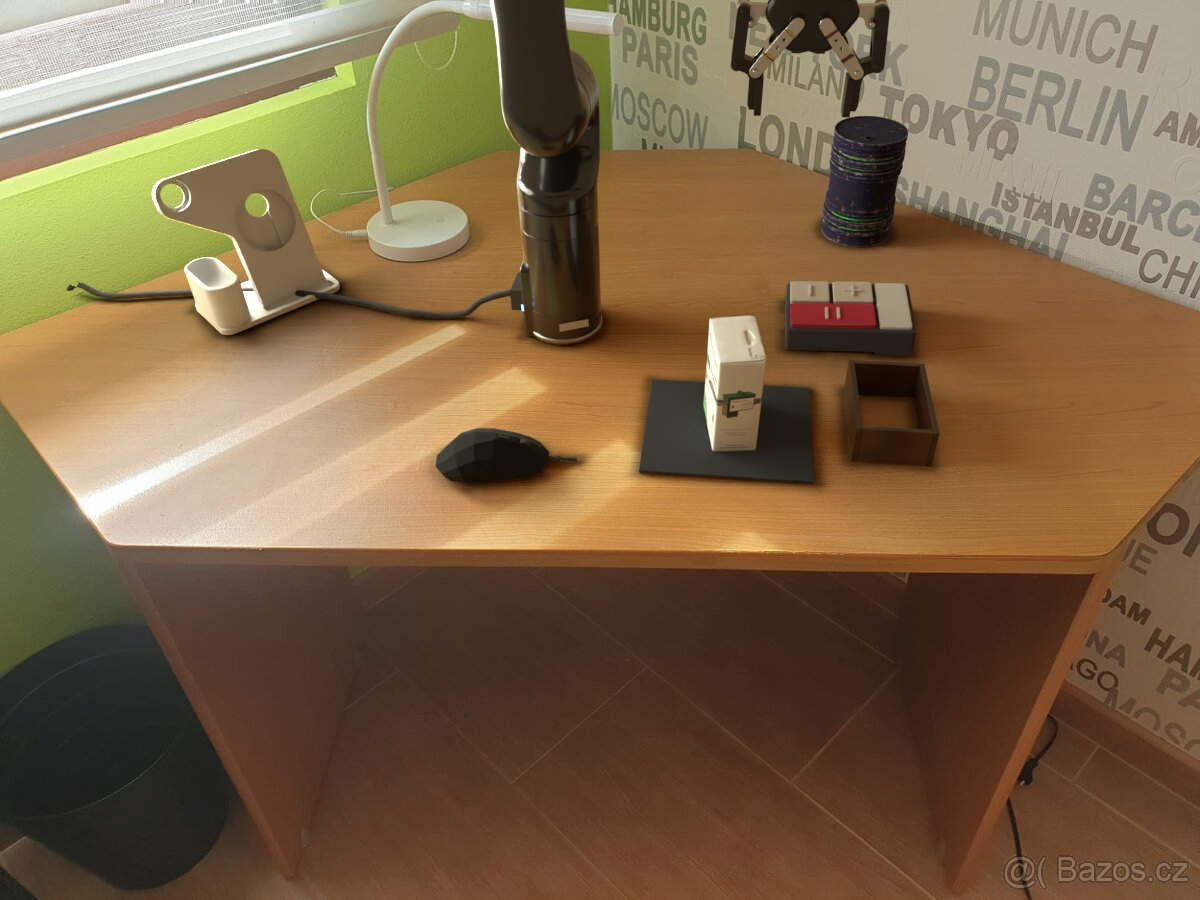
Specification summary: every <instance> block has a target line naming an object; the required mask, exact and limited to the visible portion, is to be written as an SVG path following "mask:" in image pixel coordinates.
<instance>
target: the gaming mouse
mask: <svg viewBox="0 0 1200 900" xmlns="http://www.w3.org/2000/svg"><path fill="white" fill-rule="evenodd" d="M549 462H554V463H561V462H578V456H577V457H572V456H561V455H550V451H549V450H548V449H547V448H546V446H544V444H543V443H542V442H541V441H540V440H537V439H535V438H534V437H532V436H529V435H526V434H522V433H519V432H515V431H511V430H505V429H500V428H493V427H476V428H473V429H470V430H469V429H468V430H467V431H463V432H460V433H459V434H458V435H457V436H456V437H454V438H453V440H451V441H450V442H449V443H448V444H447V445H446V446H444V448H442V450H441V451H439V453H437V454H436V459H435V468H436V469H437V470H438V471H439V472H440V474H441V475H442V476H443V478H445V479H446V480H449V481H450V482H454V483H461V484H466V485H472V484H485V483H496V482H510V481H517V480H519V481H520V480H527V479H530V478H533V477H535V476H537V475H540V474H542V473H543V471H544V470H545V469H546V467H547V465H548V464H549Z"/></svg>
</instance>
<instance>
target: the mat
mask: <svg viewBox="0 0 1200 900" xmlns="http://www.w3.org/2000/svg"><path fill="white" fill-rule="evenodd" d="M650 386H651V387H650V392H649V397H648V404H647V412H646V420H645V427H644V432H643V440H642V446H641V454H640V461H639V467H638V473H639V474H649V475H662V476H663V475H666V476H681V477H692V478H693V477H695V478H708V479H709V478H710V479H725V480H741V481H754V482H755V481H757V482H769V483H771V482H773V483H788V484H801V485H815V483H816V480H815V479H816V478H815V465H814V449H813V432H812V431H813V430H812V415H811V398H810V388H809V387H801V386H785V385H767V384H763V392H762V400H761V410H760V418H759V427H758V436H757V444H756V449H755V450H748V451H712V446H711V442H710V437H709V432H708V426H707V421H706V416H705V411H704V405H703V402H704V391H705V381H694V380H693V381H690V380H674V379H673V380H672V379H658V378H657V379H654V378H653V379H652V380H651V385H650Z"/></svg>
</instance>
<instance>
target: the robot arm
mask: <svg viewBox="0 0 1200 900" xmlns="http://www.w3.org/2000/svg"><path fill="white" fill-rule="evenodd" d="M488 2H489V6H490V12H491V15H492V22H493V28H494V35H495V44H496V55H497V65H498V77H499V79H498V80H499V91H500V92H499V93H500V103H501V104H500V105H501V113H502V117H503V121H504V124H505V127H506V128H507V131H508V133H509V135H510V136H511V138H512V139H513V140H514V142H515V143H516V144H517V145H518V146H519V161H518V170H517V174H516V196H517V205H518V216H519V226H520V227H519V228H520V238H521V249H522V251H521V252H522V261H521V264H520V267H519V272H517V273H516V275H515V278H514V280H513V282H512V284H511V286H510V288H509V289H505V290H502V291H497V292H494V293H490V294H487V295H484V296H482V297H480V298H478V299H477V300H475V301H474V302H473V303H472V304H471V305H470V306H469V307H468V308H466V309H463V310H460V311H455V312H433V311H432V312H431V311H425V310H417V309H410V308H403V307H402V308H401V307H396V306H392V305H387V304H383V303H379V302H376V301H371V300H368V299H367V300H366V299H362V298H361V299H360V298H355V297H350V296H345V295H340V294H334V293H332V294H327V293H319V292H311V291H302V290H297V291H296V292H295V295H297V296H302V297H305V296H308V295H313V296H315V298H319V299H318V300H327V301H334V302H340V303H345V304H350V305H356V306H362V307H367V308H371V309H375V310H378V311H383V312H387V313H391V314H396V315H400V316H401V315H402V316H408V317H416V318H425V319H432V320H433V319H434V320H456V319H460V318H465V317H467V316H469V315H471V314H473V313H474V312H475V311H476V310H477V309H478V308H479V307H481V306H482V305H484V304H486V303H489V302H492V301H494V300H499V299H502V298H507V297H510V307H511V311H519V312H523V321H524V332H525V336H527V337H533V338H536V339H537V340H539V341H542V342H544V343H547V344H553V345H573V344H578V343H582V342H585V341H587V340H590V339H592V338H593V337H595V336H596V335H597V334H599V332H600V331H601V329H602V327H603V315H602V313H603V312H602V310H603V309H602V290H601V289H602V288H601V258H600V255H601V254H600V228H599V227H600V225H599V198H598V197H599V195H598V194H599V193H598V183H599V182H598V181H599V173H600V164H601V127H600V126H601V122H600V121H601V119H600V118H601V117H600V116H601V115H600V114H601V112H600V91H599V86H598V80H597V77H596V75H595V73H594V70H593V68H592V66H590V64H589V62H588V61H587V60H586V59H585V58H584V57H583V56H582V55H581V54H579V53H578V52H577V51H575V50H573V49H571V45H570V39H569V33H568V24H567V15H566V0H488ZM735 13H736V15H735V22H734V23H735V24H734V32H733V39H732V48H731V56H730V57H731V58H730V68H731V70H732V71H734V72H742V73H744V74H746V76H747V77H748V88H747V99H746V105H747V108H748V110H749V111H750V110H751V111H753V116H754V117H761V116H762V105H763V103H762V102H763V95H764V94H763V93H764V81H765V71H766V70H767V69H768V68H769V66H770V65H771V64H772V63H774V62H775V61H776V60H777V59H778V58H779V57H780V55H781V54H782V53H783V52H784V51H785V50H787V51H789V52H790V53H791V54H803V53H807V52H810V53H813V54H816V55H825V54H826V53H827V52H828V51H831V50H833V51H834V53H835V55H836V56H837V57H838V59H839V61H840V62H841V64H842V65H843V67H844V68H845V70H846V71H847V72H845V77H844V83H843V91H842V98H841V106H840V115H841V118H850V117H851V112H855V113H856V112H857V109H858V107H859V103H860V96H861V89H862V83H863V79H864V78H866V76H868V75H870V74H880V73H882V72H883V71H884V70H885V65H886V55H887V45H888V34H889V27H890V26H889V25H890V16H891V10H890V7H889V4H888V1H887V0H875V1H874V2H864V3H863V2H862V3H859V2H858V0H768V1H767V2H759V1H751V0H738V1H737V6H736V12H735ZM762 17H765V19H766V21H767V22H768V25H770V28H771V29H772V31H771V33H770V34H769V35H768V36H767V38H765V40H764V42H763V44H762V45H761V46H760V48H759V49H758V50H757V52H756V53H754V55H753V56H752V55H749V54H747V53H746V49H747V42H748V41H747V40H748V33H749V29H754V28H756V26H757V25H758V22H759V20H760V19H761V18H762ZM859 18H861V19H863V21H864V25H865V27H866V29H868V30H871V31H870V41H869V42H870V44H869V53H868V55H866V56H864V57H859V56H858V54H857V52H856V50H855V48H854V47H853V44H852V43H851V41H850V39H849V38H848V36H847V33H848V31H849V30H850V29H851V28H852V27H853V25H855V23H856V22H857V21H858V20H859ZM78 282H79V283H78V285H77V287H75V286H72V285H70V284H68V285H67V287H66V291H67V292H72V291H74V290H75V289H76V288H79V289H81V290H83V291H85V292H87V293H89V294H91V295H93V296H95V297H98V298H102V299H108V300H134V299H147V298H161V297H162V298H163V297H164V298H165V297H183V296H184V297H185V296H193V293H192V291H191V288H190V289H189V288H188V289H171V290H149V291H137V292H105V291H101V290H99V289H96V288H94V287H92V286H90V285H88V284H86V283H84V282H82V283H80V282H81V281H78ZM242 289H243V291H251V292H254V290H253V288H242Z"/></svg>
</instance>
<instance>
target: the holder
mask: <svg viewBox="0 0 1200 900" xmlns="http://www.w3.org/2000/svg"><path fill="white" fill-rule="evenodd" d="M928 377H929V376H928V373H927V368H926V364H925V363H921V362H920V363H919V362H918V363H917V362H902V361H901V362H900V361H882V360H881V361H880V360H865V359H863V360H861V359H849V360H848V363H847V367H846V375H845V380H844V384H843V391H842V392H843V393H842V394H843V401H844V410H845V412H844V413H845V420H846V429H847V439H848V448H849V449H848V450H849V459H850V462H851V463H856V462H857V463H866V464H883V465H899V466H901V465H902V466H915V467H932V465H933V461H934V457H935V453H936V450H937V446H938V442H939V438H940V434H941V432H940V428H939V423H938V419H937V413H936V410H935V405H934V400H933V395H932V391H931V387H930V382H929V378H928ZM861 396H863V397H880V398H899V399H912V404H913V409H914V413H915V415H914V416H915V419H916V424H917V428H908V427H891V426H874V425H863V420H862V419H863V418H862V412H861V405H860V397H861Z"/></svg>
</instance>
